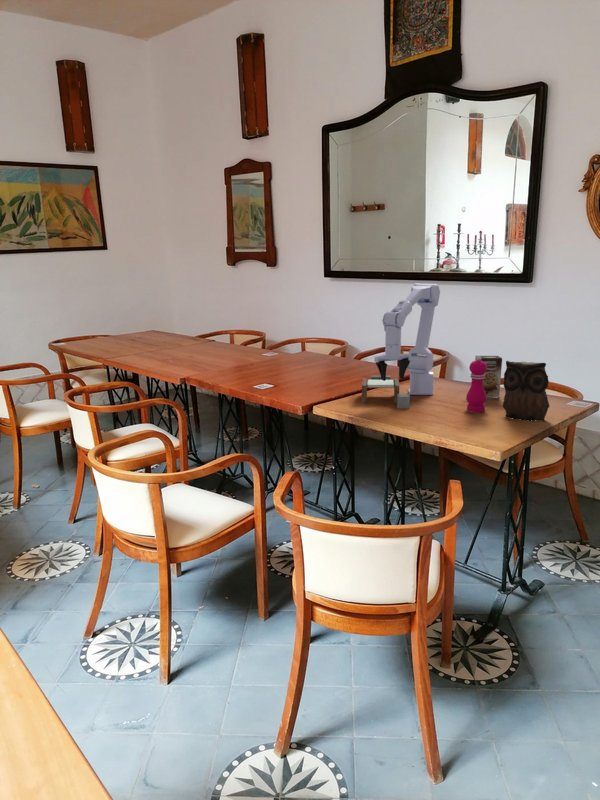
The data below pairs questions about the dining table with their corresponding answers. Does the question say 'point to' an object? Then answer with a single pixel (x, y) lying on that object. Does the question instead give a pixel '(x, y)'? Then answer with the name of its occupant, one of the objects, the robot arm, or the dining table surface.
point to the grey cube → (403, 400)
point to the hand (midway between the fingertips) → (392, 379)
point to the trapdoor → (380, 382)
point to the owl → (525, 390)
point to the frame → (365, 386)
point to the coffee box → (492, 375)
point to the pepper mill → (477, 386)
